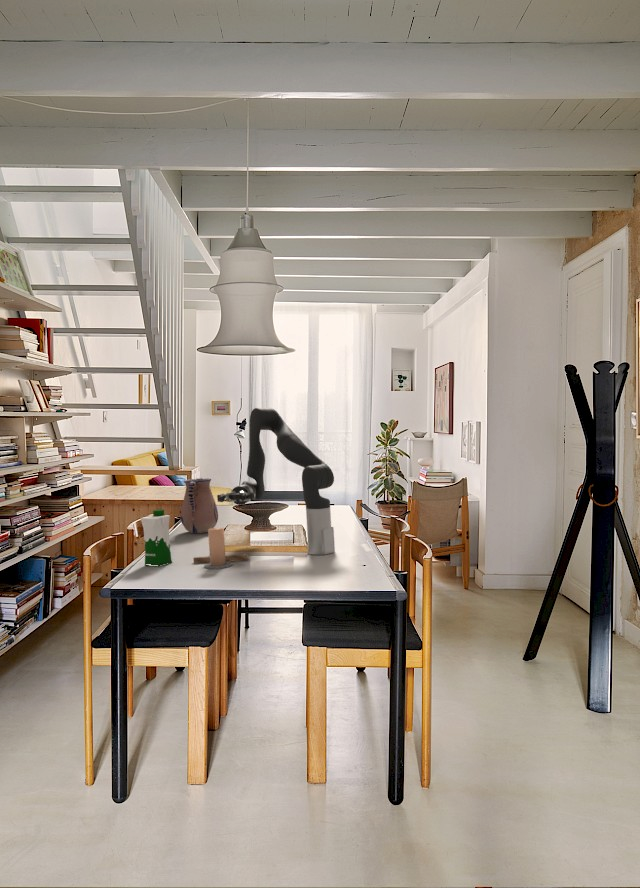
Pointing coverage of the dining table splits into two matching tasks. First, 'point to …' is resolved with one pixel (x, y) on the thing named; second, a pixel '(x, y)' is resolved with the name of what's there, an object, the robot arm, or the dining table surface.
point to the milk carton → (157, 538)
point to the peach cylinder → (217, 546)
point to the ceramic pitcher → (198, 506)
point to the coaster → (218, 566)
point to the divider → (228, 558)
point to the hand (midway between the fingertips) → (231, 498)
